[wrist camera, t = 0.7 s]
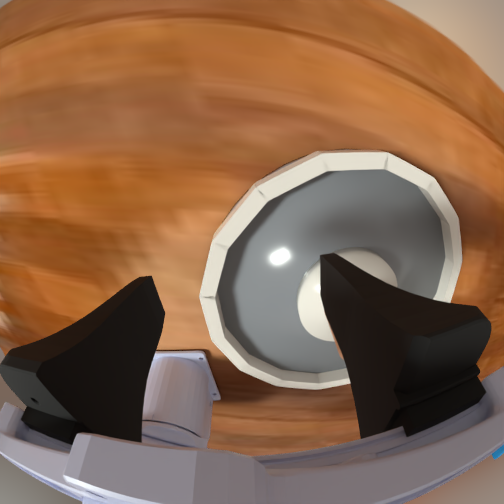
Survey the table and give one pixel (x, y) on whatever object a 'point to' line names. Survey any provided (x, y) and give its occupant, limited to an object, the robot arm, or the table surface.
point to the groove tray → (308, 257)
